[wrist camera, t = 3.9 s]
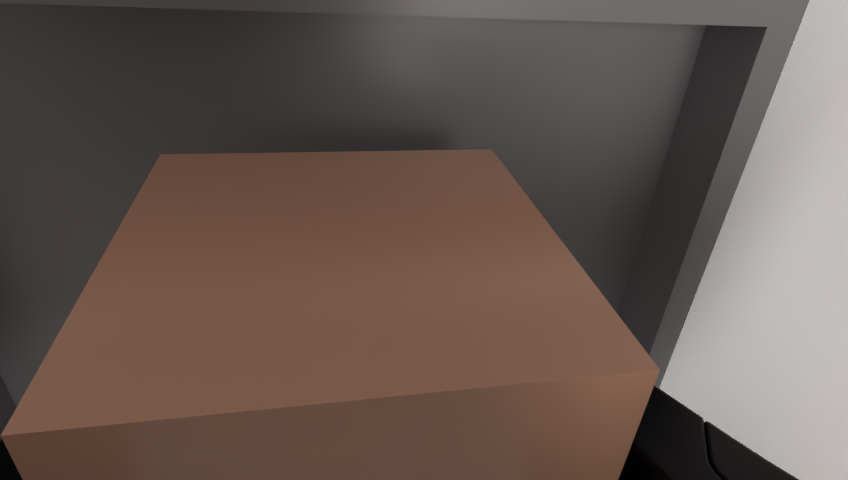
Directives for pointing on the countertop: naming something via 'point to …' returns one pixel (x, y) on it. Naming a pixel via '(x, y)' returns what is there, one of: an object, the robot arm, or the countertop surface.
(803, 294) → the countertop surface
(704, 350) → the countertop surface
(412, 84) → the bin
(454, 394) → the brown cube
